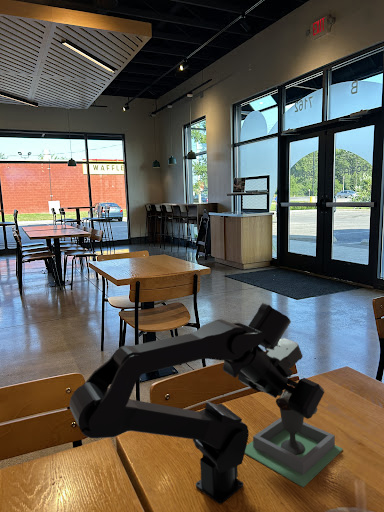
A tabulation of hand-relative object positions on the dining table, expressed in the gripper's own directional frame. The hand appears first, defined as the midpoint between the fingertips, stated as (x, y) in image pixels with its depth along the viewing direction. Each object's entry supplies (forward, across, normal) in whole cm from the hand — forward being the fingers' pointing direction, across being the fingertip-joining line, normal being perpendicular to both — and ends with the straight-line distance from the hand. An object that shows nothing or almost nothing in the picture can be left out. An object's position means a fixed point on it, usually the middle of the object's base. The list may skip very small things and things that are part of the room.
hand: (297, 402), depth 80 cm
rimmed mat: (+6, 0, +8) cm, 10 cm away
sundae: (+6, 0, +8) cm, 10 cm away
